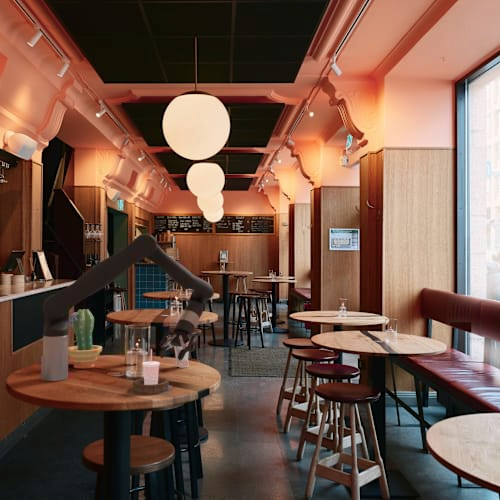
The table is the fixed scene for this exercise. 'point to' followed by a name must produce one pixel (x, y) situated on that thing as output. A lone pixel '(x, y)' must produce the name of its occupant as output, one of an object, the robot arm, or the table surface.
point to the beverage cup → (151, 372)
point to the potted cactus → (83, 340)
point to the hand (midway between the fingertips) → (169, 358)
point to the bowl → (150, 386)
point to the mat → (157, 393)
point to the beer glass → (184, 361)
